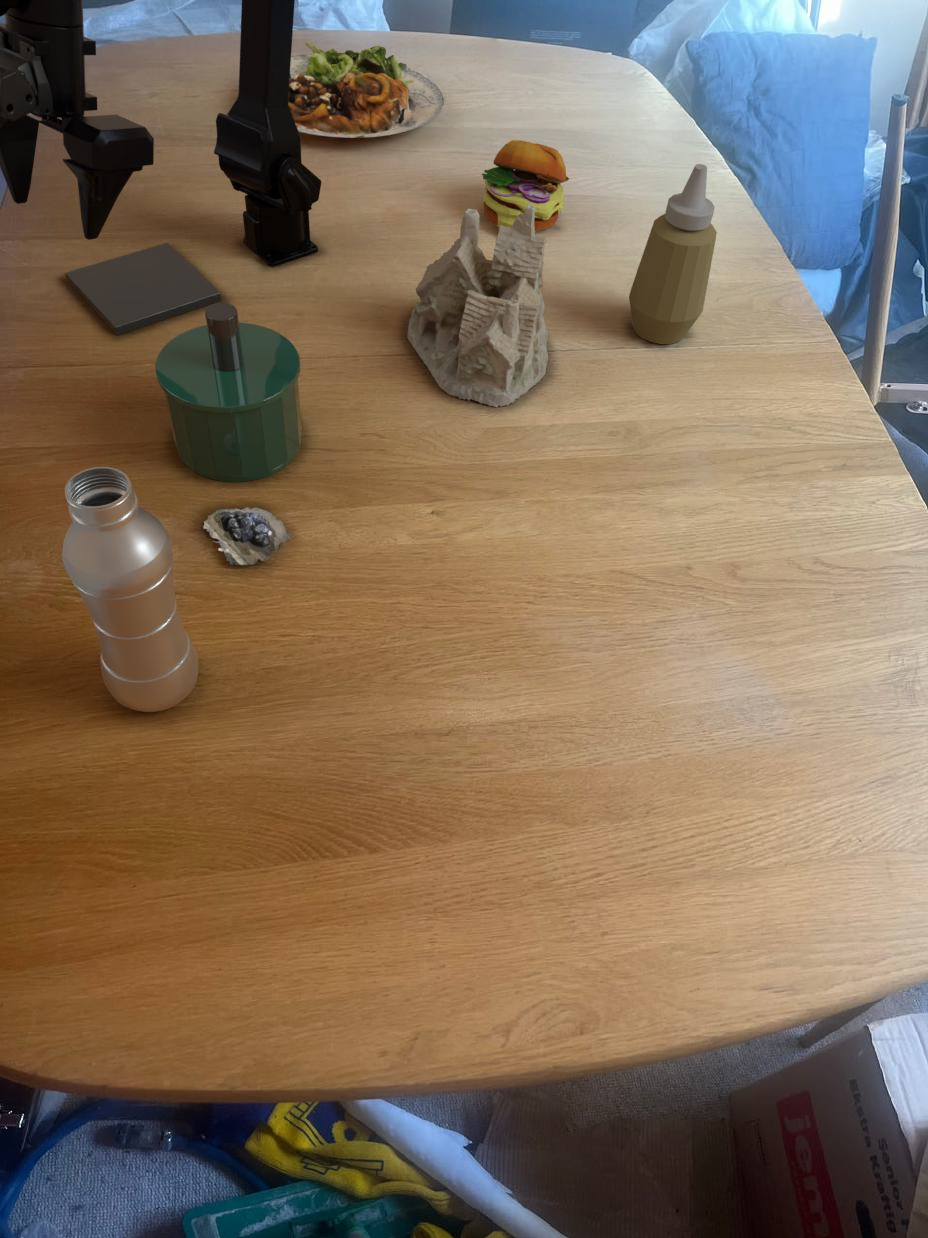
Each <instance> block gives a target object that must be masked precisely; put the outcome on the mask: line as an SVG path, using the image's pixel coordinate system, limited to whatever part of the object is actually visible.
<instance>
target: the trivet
mask: <svg viewBox="0 0 928 1238" xmlns="http://www.w3.org/2000/svg"><path fill="white" fill-rule="evenodd" d="M64 274H65V278H66V281H67V282H68V283H69V284H70V286H71V287H73V289H74V290H75V291H76V292H77V293H78V294H79V296H81V297H82V299H83V300H84V301H85V302H86V303H87V304H88V305H89V307H91V309H93V311H94V312H95V313H96V315H98V316H99V317H100V319H101V320H103V322H104V323H105V325H107V326H108V327H109V328H110V329H111V330H112V332H113V333H115V335H116V336H120V335H123V334H126V333H129V332H132V331H135V330H138V329H141V328H144V327H147V326H149V325H152V324H155V323H156V324H157V323H159V322H161V321H164V320H167V319H170V318H174V317H177V316H180V315H183V314H186V313H189V312H192V311H194V310H198V309H201V308H204V307H206V306H207V307H208V306H210V305H212V304H215V303H220V302H221V301H222V294H221V291H220V290H219V289H217V288H216V287H215V286H214V285H213V284H212V283H211V282H210V281H209V280H208V279H207V278H205V276H204V275H203V274H201V273H200V272H199V271H198V270H197V269H196V268H195V267H194V266H193V265H192V264H191V263H190V262H189V261H188V260H187V259H185V258H184V257H183V256H182V255H181V254H180V253H179V252H178V251H177V250H176V249H175V248H174V247H173V246H172V245H171V244H170V243H169V242H164V243H161V244H157V245H154V246H151V247H148V248H145V249H141V250H138V251H134V252H131V253H128V254H124V255H120V256H117V257H114V258H111V259H107V260H104V261H100V262H96V263H94V264H90V265H87V266H84V267H80V268H77V269H74V270H71V271H67V272H65V273H64Z"/></svg>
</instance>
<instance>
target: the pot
mask: <svg viewBox="0 0 928 1238" xmlns="http://www.w3.org/2000/svg"><path fill="white" fill-rule="evenodd" d="M163 395H164V399H165V405H166V409H167V415H168V419H169V424H170V427H171V428H170V429H171V434H172V437H173V438H172V439H173V442H174V446H175V448H176V452H177V455H178V457H179V460H180V461H181V462H182V463H183V464H184V465H185V466H186V468H188V469H190V470H191V471H193V472H194V473H196V474H197V475H200V476H202V477H204V478H207V479H211V480H215V481H219V482H230V483H240V482H241V483H242V482H249V481H250V482H251V481H255V480H261V479H263V478H267V477H269V476H271V475H273V474H276V473H278V472H280V471H281V470H283V469H284V468H285V467H287V466H288V465H289V464H290V463H291V462H292V461H293V460H294V459H295V458H296V456H297V455H298V454H299V452H300V450H301V449H300V448H301V445H302V432H303V429H302V415H301V403H300V402H301V401H300V387H299V378H298V379H297V381H296V383H295V384H294V386H293V387H292V388H291V389H290V390H289V391H288V392H287V393H286V394H285V395H283V396H282V397H281V398H279V399H277V400H276V401H274V402H272V403H270V404H267V405H265V406H262V407H259V408H256V409H252V410H248V411H242V412H232V413H216V412H207V411H201V410H197V409H193V408H190V407H187V406H185V405H182V404H181V403H179V402H177V401H175V400H174V399H172V398H171V397H169V396H168V395H167V394H166V393H165V392H164V391H163Z"/></svg>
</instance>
